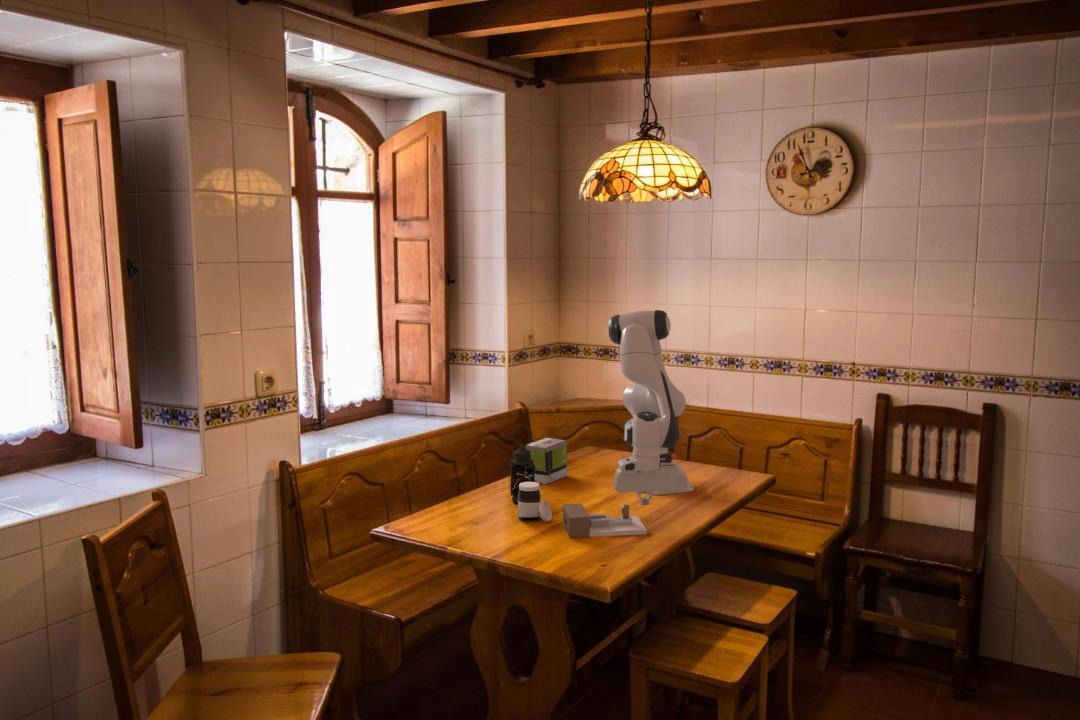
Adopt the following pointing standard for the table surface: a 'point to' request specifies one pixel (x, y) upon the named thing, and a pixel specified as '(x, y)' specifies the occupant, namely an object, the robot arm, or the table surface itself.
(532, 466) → the lantern
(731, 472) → the table surface
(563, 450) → the tea box
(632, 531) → the door plate
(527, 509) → the spread jar
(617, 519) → the bolt
